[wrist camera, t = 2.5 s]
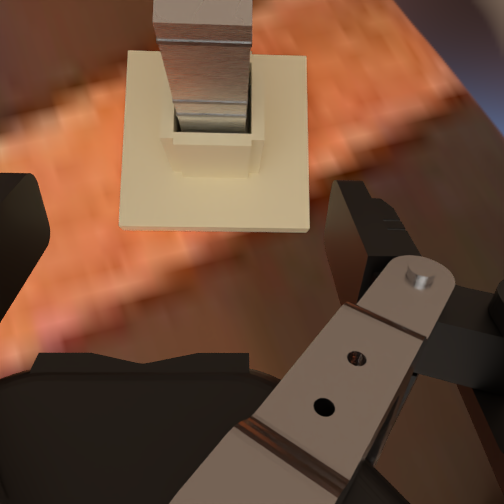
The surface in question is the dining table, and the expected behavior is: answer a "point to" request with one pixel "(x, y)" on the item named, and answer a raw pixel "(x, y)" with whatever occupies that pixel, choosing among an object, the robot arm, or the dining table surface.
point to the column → (206, 61)
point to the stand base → (216, 155)
